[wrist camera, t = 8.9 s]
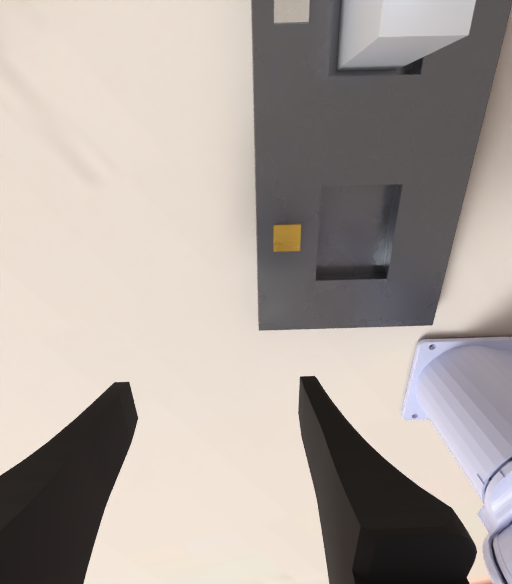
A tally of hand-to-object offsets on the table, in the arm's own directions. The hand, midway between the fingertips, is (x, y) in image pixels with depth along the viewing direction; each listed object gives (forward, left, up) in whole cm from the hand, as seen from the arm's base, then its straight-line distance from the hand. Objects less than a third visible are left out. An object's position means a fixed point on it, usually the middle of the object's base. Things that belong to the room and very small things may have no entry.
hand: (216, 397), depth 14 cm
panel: (-8, -10, -10) cm, 16 cm away
